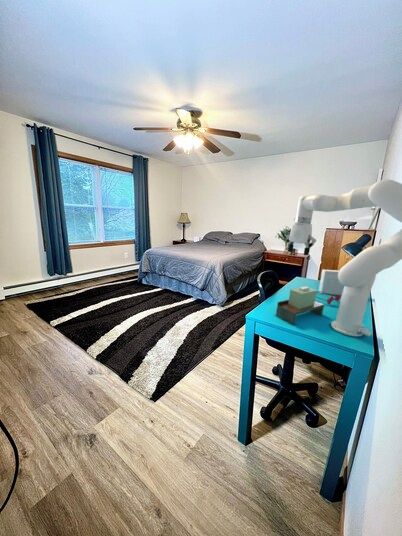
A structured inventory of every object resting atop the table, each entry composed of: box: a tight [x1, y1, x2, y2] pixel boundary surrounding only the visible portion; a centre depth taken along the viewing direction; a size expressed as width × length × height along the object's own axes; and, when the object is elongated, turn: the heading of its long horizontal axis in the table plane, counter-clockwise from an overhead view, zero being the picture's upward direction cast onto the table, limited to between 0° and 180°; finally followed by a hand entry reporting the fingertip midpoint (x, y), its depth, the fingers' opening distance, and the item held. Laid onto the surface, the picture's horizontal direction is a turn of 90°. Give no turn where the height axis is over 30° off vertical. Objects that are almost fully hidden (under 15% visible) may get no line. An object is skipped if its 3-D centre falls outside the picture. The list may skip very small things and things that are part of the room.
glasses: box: [316, 290, 341, 305], centre depth 136 cm, size 14×16×5 cm
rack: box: [275, 298, 325, 325], centre depth 111 cm, size 10×24×8 cm, turn 120°
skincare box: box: [318, 269, 344, 296], centre depth 146 cm, size 21×5×16 cm, turn 84°
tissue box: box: [288, 285, 318, 309], centre depth 109 cm, size 6×12×9 cm, turn 120°
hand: (297, 253), depth 116 cm, fingers open, 9 cm apart
